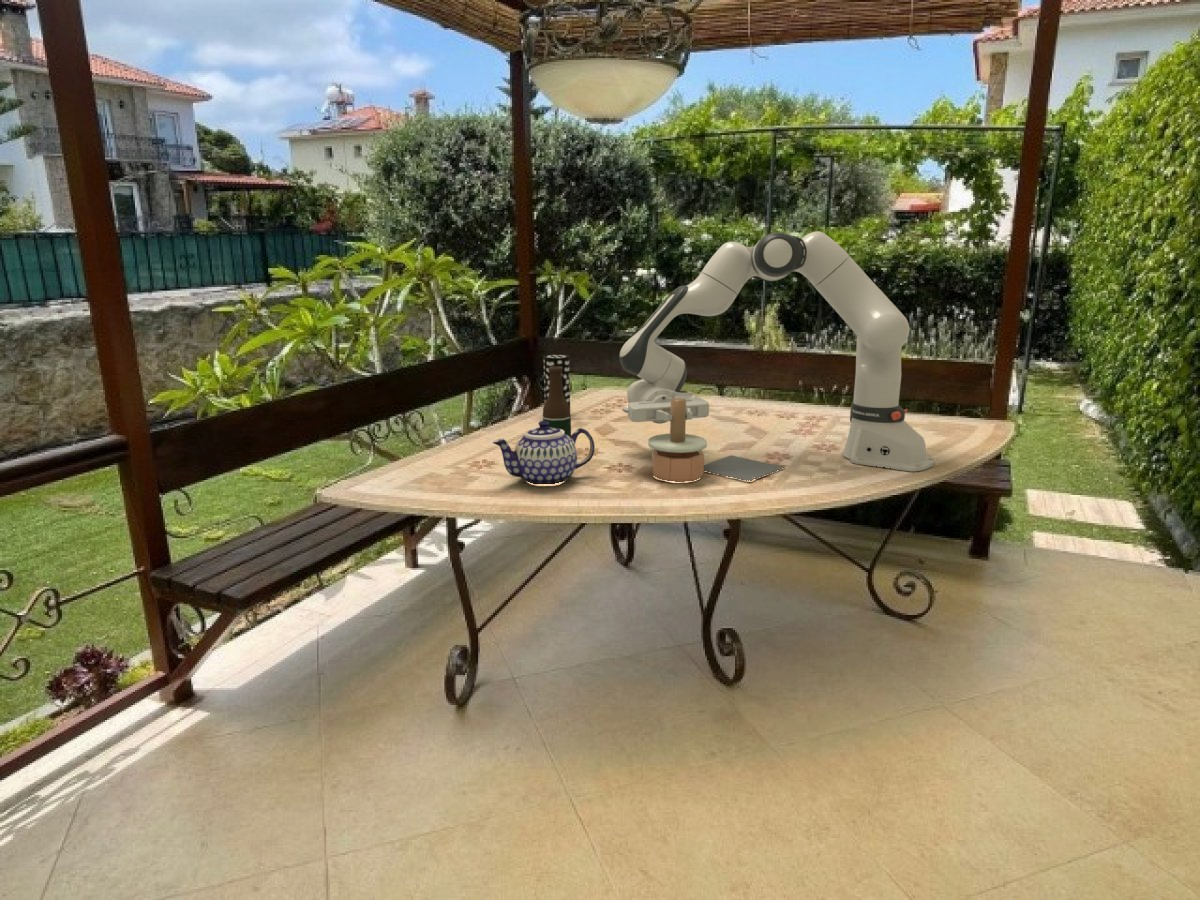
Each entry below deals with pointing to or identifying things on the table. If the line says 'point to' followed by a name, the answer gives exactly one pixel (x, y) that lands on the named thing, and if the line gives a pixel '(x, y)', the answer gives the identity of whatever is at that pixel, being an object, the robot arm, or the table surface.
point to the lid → (677, 433)
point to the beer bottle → (557, 403)
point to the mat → (740, 468)
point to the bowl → (677, 465)
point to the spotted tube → (564, 363)
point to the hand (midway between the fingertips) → (679, 417)
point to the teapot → (544, 454)
